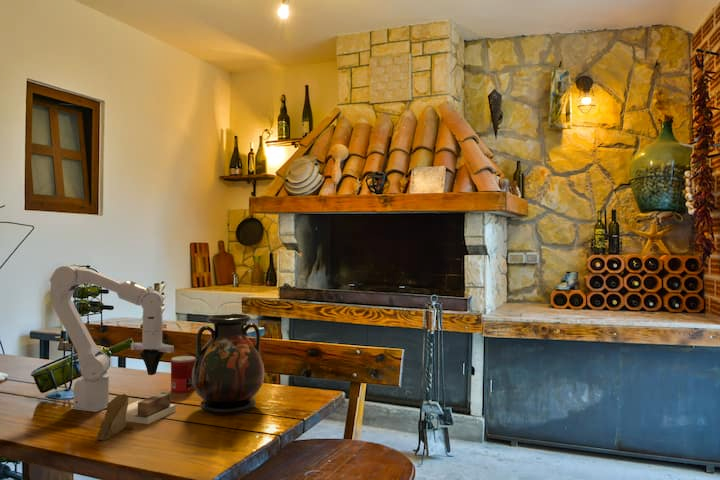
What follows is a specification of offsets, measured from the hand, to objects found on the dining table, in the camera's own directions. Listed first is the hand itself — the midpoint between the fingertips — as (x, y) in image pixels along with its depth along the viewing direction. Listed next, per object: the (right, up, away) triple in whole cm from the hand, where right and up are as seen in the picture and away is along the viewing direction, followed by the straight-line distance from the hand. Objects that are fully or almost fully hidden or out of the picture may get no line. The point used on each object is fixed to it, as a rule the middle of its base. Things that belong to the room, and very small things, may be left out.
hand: (151, 374), depth 168 cm
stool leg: (+6, -7, -12) cm, 15 cm away
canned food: (+4, -10, +16) cm, 20 cm away
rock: (-1, -10, -25) cm, 27 cm away
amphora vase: (+24, -10, -3) cm, 26 cm away
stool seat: (+1, -9, -10) cm, 14 cm away
